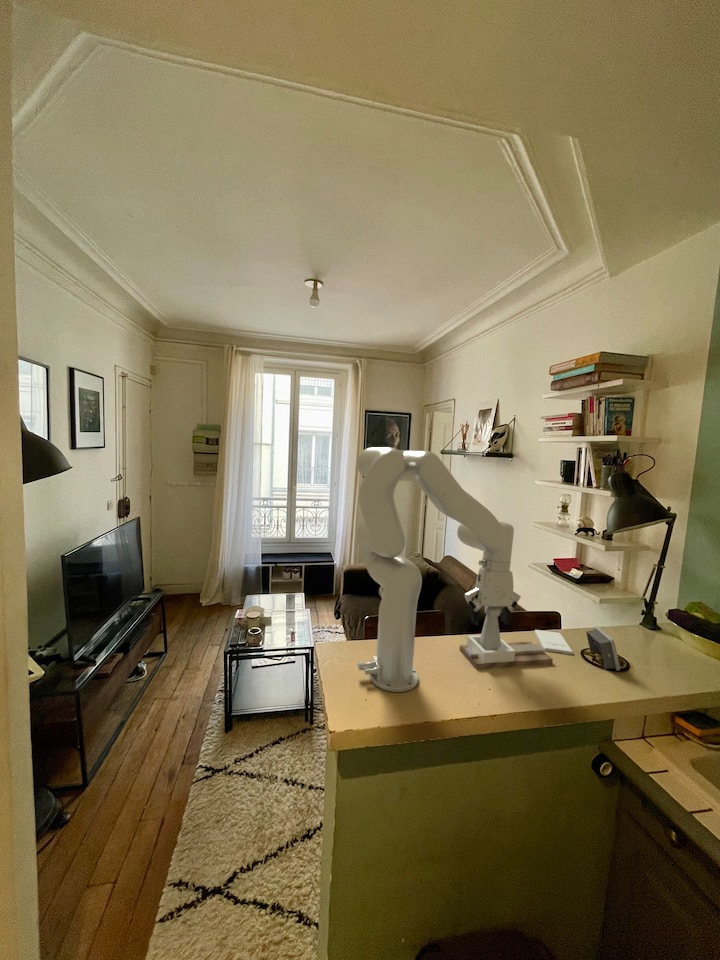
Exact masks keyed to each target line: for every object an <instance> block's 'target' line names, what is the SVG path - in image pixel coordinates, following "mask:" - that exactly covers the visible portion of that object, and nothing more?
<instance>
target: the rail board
mask: <svg viewBox="0 0 720 960" xmlns="http://www.w3.org/2000/svg"><path fill="white" fill-rule="evenodd" d="M506 643H507V644H508V645H525V644H534V643H533V642H531V641H517V642H506ZM465 648H469V647H468V646H467V644H465V645H462V644H461V645H459V652H460V653H461V654H462V655H463V656H464V658H465V659H466V660H467V661H468V662H469V663H470V664H471V665H472V666H473V668H474V669H475V670H485V669H487V670H488V669H497V668H498V669H499V668H500V669H501V668H515V667H529V666H530V667H531V666H541V665H543V666H544V665H553V658H552V657H551V656H549V655H548V654H547V653H546V652H545V653H537V654H521V655H515V660H514V661H509V662H494V663H483V662H482V661H481V660H480V659H479V658H478V657H474V658H471V657H470V656H469V655H468V654H467V653H466V652H465Z"/></svg>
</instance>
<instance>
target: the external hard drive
mask: <svg viewBox="0 0 720 960" xmlns="http://www.w3.org/2000/svg"><path fill="white" fill-rule="evenodd" d="M534 634H535V636H536V638H537V640H538V639H539V640H538V641H539V643H540V646H541V647H542V648H544V649H545V652H552V653H558V654H559V653H560V654H564V655H565V654H566V655H573V656H574V651H573V650H572V648H571V646H569V644H568V642H567V641H566V640H565V638H564V637H563V635H562V634H561V633H560V632H557V631H556V632H554V631H548V630H547V631H546V630H541V629H535V630H534Z"/></svg>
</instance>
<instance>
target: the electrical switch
mask: <svg viewBox="0 0 720 960" xmlns="http://www.w3.org/2000/svg"><path fill="white" fill-rule="evenodd" d="M585 633H586V637H587V642H588V647H589V651H590V654H591V653H597V654H599V655H601V656H602V657H603V658H601V659H603V660H602V661H604V666H605V668H604V670H607V669H614V668H615V669H616V670H615V669H614V670H615V671H616V672H617V671H621V667H620V661H619V657H618V651H617V647H616V643H615V641H614V639H613V638H612V637H611V636H610V635H608V634H607V633H606V632H605V631H604V630H602V629H601V628H600V627H599V626H597V625H596V626H594V629H590V630H586V631H585ZM601 659H600V660H601Z"/></svg>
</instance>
